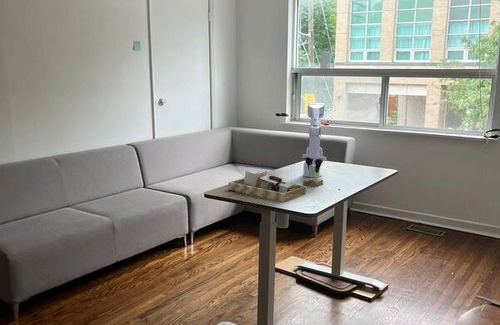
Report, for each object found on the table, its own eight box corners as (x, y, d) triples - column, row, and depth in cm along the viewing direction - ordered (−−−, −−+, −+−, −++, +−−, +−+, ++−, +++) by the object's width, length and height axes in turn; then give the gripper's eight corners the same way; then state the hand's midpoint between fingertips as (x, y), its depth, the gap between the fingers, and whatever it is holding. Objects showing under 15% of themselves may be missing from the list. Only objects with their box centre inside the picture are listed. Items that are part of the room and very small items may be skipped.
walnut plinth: (303, 185, 269) (303, 180, 268) (310, 182, 275) (311, 177, 274) (315, 187, 264) (315, 182, 263) (322, 185, 270) (323, 179, 269)
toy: (300, 198, 252) (252, 182, 266) (303, 181, 249) (255, 166, 264) (289, 204, 242) (240, 187, 256) (293, 186, 239) (243, 170, 253)
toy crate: (228, 189, 256) (228, 182, 256) (252, 182, 272) (252, 176, 271) (283, 202, 234) (284, 194, 233) (306, 193, 249) (306, 186, 248)
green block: (308, 175, 268) (308, 165, 267) (312, 174, 271) (312, 164, 270) (314, 176, 266) (315, 166, 264) (318, 175, 269) (318, 165, 267)
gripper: (299, 147, 267) (298, 171, 269) (322, 150, 258) (321, 174, 260) (306, 145, 272) (305, 169, 275) (328, 148, 263) (327, 172, 266)
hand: (313, 171), depth 268 cm, fingers closed on green block, 4 cm apart
